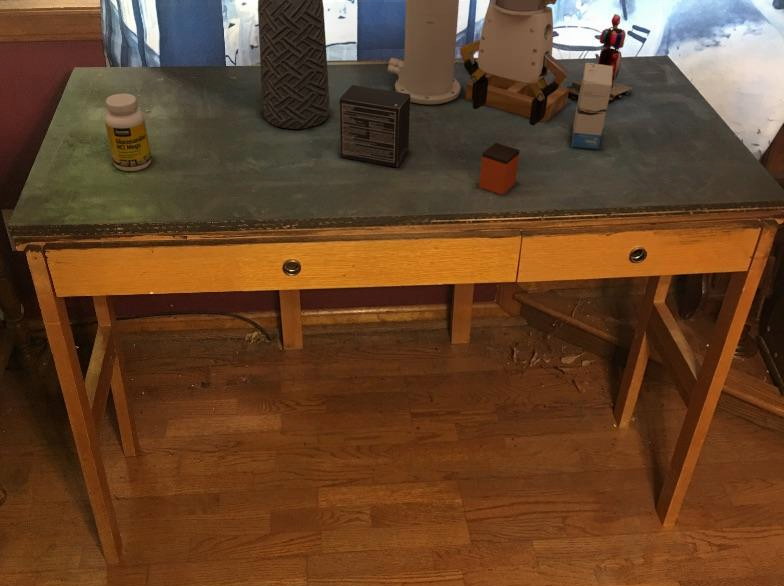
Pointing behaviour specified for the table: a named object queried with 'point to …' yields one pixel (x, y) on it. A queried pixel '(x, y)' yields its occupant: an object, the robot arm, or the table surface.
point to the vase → (293, 62)
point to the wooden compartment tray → (518, 97)
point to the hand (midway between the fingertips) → (507, 114)
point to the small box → (374, 125)
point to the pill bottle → (127, 133)
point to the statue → (608, 58)
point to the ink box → (592, 106)
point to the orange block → (499, 168)
